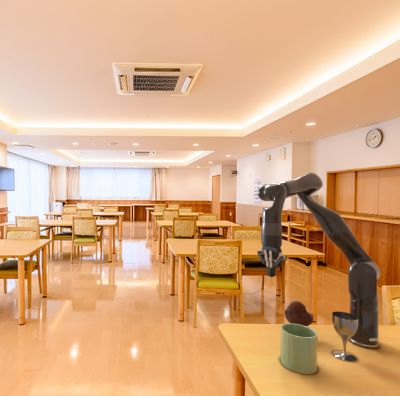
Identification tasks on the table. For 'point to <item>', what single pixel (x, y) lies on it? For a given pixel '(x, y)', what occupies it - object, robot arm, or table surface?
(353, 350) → the table surface
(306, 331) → the tumbler
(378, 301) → the robot arm
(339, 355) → the wine glass
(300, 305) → the ice cream bowl
